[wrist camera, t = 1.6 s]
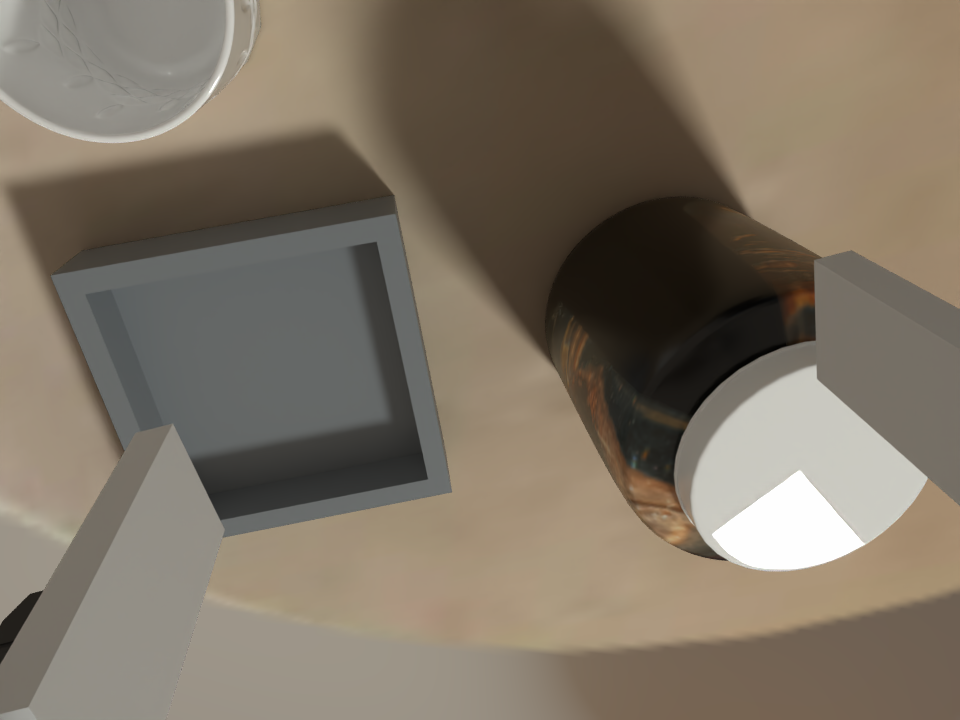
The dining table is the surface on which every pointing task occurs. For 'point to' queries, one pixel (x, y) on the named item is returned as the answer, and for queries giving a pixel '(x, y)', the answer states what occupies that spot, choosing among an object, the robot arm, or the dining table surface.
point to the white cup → (120, 62)
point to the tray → (269, 359)
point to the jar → (718, 389)
